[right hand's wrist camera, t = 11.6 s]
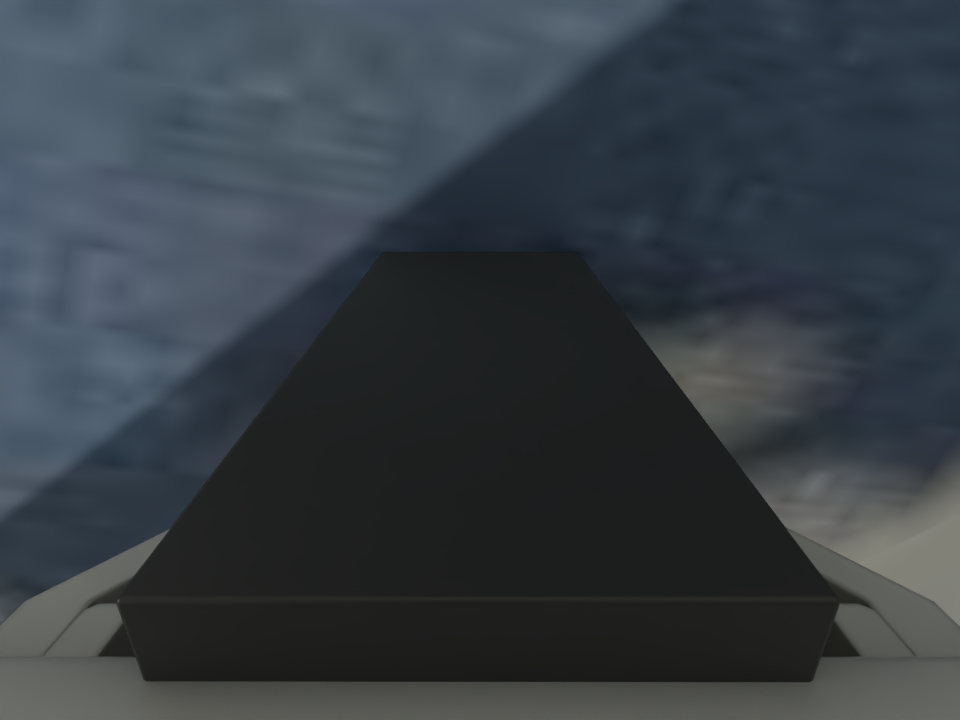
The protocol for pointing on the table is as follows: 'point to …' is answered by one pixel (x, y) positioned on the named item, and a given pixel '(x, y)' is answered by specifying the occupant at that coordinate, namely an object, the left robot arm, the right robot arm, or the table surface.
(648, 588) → the box
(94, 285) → the table surface
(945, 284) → the table surface
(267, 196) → the table surface
